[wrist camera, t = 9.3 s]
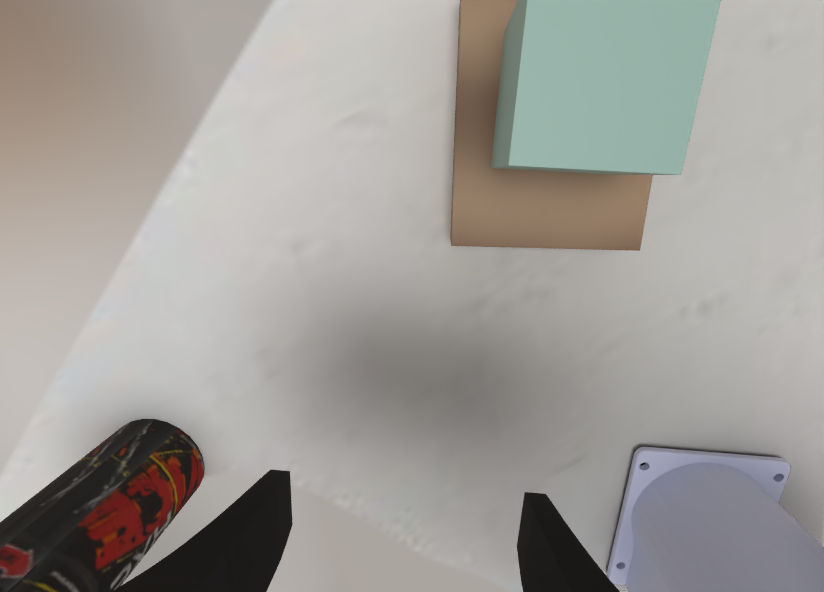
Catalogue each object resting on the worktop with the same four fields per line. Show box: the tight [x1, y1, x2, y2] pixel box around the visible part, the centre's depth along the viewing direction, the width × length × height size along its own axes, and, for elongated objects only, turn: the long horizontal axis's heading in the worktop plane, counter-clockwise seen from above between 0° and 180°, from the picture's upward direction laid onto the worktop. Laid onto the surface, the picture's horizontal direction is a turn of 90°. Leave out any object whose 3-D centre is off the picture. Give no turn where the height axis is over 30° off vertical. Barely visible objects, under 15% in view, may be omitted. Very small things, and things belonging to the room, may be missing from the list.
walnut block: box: [450, 0, 653, 250], centre depth 18 cm, size 10×8×3 cm
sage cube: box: [491, 0, 721, 175], centre depth 14 cm, size 5×5×5 cm
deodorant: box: [0, 419, 204, 592], centre depth 19 cm, size 6×6×15 cm
